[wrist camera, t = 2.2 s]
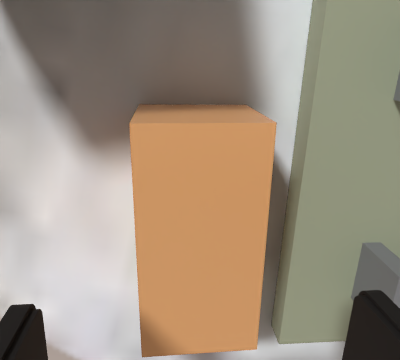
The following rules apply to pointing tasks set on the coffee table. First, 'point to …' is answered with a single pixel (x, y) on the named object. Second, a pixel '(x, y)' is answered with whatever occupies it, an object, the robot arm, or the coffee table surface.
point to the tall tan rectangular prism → (200, 224)
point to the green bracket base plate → (342, 173)
